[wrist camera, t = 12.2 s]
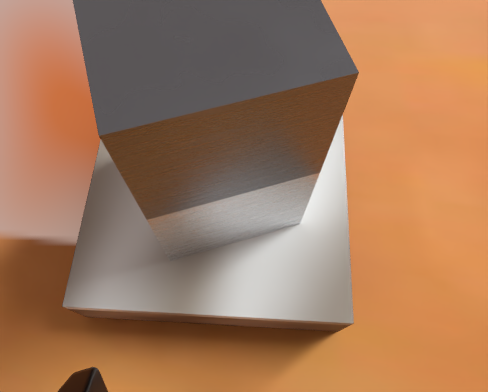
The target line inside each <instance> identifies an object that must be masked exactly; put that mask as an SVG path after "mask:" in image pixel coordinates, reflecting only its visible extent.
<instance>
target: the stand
mask: <svg viewBox="0 0 488 392" xmlns="http://www.w3.org/2000/svg"><path fill="white" fill-rule="evenodd" d="M62 307H65V308H67V309H69V310H72V311H74V312H76V313H79V314H81V315H83V316H85V317H96V318H113V319H130V320H147V321H164V322H181V323H198V324H216V325H233V326H250V327H267V328H284V329H301V330H318V331H335V332H338V331H340V330H342V329H344V328H346V327H348V326H350V325H352V324H353V323H354V322H353V302H352V283H351V264H350V245H349V226H348V206H347V187H346V168H345V149H344V129H343V115H342V117H341V120H340V123H339V125H338V128H337V130H336V133H335V135H334V138H333V141H332V143H331V146H330V148H329V151H328V154H327V156H326V159H325V161H324V164H323V166H322V169H321V172H320V174H319V177H318V179H317V182H316V185H315V187H314V190H313V192H312V195H311V197H310V200H309V203H308V205H307V208H306V210H305V213H304V216H303V218H302V221H301V223H300V224H298V225H294V226H291V227H287V228H284V229H280V230H277V231H274V232H270V233H267V234H263V235H260V236H256V237H253V238H249V239H246V240H242V241H239V242H236V243H232V244H229V245H225V246H222V247H218V248H215V249H211V250H208V251H204V252H201V253H198V254H194V255H191V256H187V257H184V258H180V259H177V260H173V261H170V260H169V258H168V257H167V255H166V253H165V251H164V250H163V248H162V246H161V244H160V243H159V241H158V239H157V237H156V236H155V234H154V232H153V230H152V229H151V227H150V225H149V223H148V221H147V220H146V218H145V216H144V214H143V213H142V211H141V209H140V207H139V206H138V204H137V202H136V200H135V199H134V197H133V195H132V193H131V192H130V190H129V188H128V186H127V184H126V183H125V181H124V179H123V177H122V176H121V174H120V172H119V170H118V169H117V167H116V165H115V163H114V162H113V160H112V158H111V156H110V155H109V153H108V151H107V149H106V147H105V146H104V144H103V142H102V140H100V145H99V149H98V153H97V158H96V162H95V167H94V171H93V175H92V179H91V184H90V189H89V193H88V197H87V201H86V205H85V210H84V214H83V218H82V223H81V227H80V232H79V236H78V240H77V244H76V249H75V253H74V257H73V262H72V266H71V270H70V275H69V279H68V283H67V288H66V292H65V296H64V301H63V305H62Z"/></svg>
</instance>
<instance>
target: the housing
mask: <svg viewBox="0 0 488 392" xmlns="http://www.w3.org/2000/svg"><path fill="white" fill-rule="evenodd" d="M73 3H74V8H75V14H76V19H77V24H78V30H79V35H80V40H81V44H82V50H83V56H84V61H85V66H86V71H87V76H88V81H89V86H90V92H91V97H92V103H93V108H94V113H95V118H96V123H97V129H98V133H99V137H100V139H101V140H102V142H103V144H104V146H105V147H106V149H107V151H108V153H109V155H110V156H111V158H112V160H113V162H114V163H115V165H116V167H117V169H118V170H119V172H120V174H121V176H122V177H123V179H124V181H125V183H126V184H127V186H128V188H129V190H130V192H131V193H132V195H133V197H134V199H135V200H136V202H137V204H138V206H139V207H140V209H141V211H142V213H143V214H144V216H145V218H146V220H147V221H148V223H149V225H150V227H151V229H152V230H153V232H154V234H155V236H156V237H157V239H158V241H159V243H160V244H161V246H162V248H163V250H164V251H165V253H166V255H167V257H168V258H169V260H170V261H173V260H177V259H180V258H184V257H187V256H191V255H194V254H198V253H201V252H204V251H208V250H211V249H215V248H218V247H222V246H225V245H229V244H232V243H236V242H239V241H242V240H246V239H249V238H253V237H256V236H260V235H263V234H267V233H270V232H274V231H277V230H280V229H284V228H287V227H291V226H294V225H298V224H300V223H301V221H302V218H303V216H304V213H305V210H306V208H307V205H308V203H309V200H310V197H311V195H312V192H313V190H314V187H315V185H316V182H317V179H318V177H319V174H320V172H321V169H322V166H323V164H324V161H325V159H326V156H327V154H328V151H329V148H330V146H331V143H332V141H333V138H334V135H335V133H336V130H337V128H338V125H339V123H340V120H341V117H342V115H343V112H344V110H345V107H346V104H347V102H348V99H349V97H350V94H351V92H352V89H353V86H354V84H355V81H356V79H357V76H358V73H359V72H358V70H357V68H356V66H355V64H354V62H353V60H352V59H351V57H350V55H349V53H348V51H347V49H346V47H345V45H344V44H343V42H342V40H341V38H340V36H339V34H338V32H337V30H336V28H335V27H334V25H333V23H332V21H331V19H330V17H329V15H328V13H327V11H326V10H325V8H324V6H323V4H322V2H321V0H73Z"/></svg>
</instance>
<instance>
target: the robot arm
mask: <svg viewBox="0 0 488 392" xmlns="http://www.w3.org/2000/svg"><path fill="white" fill-rule="evenodd" d="M58 392H108V391H107V388H106V386H105V383H104V381H103V378H102V376H101V374H100V372H99V370H98V369H97V368H95V367H91V368H88V369H85V370H81V371H78V372H75V373H73V374H72V375H71V376H70V377H69V379H68V380H67V381H66V382H65V383H64V385H63V386H62V387H61V388H60V389H59V391H58Z"/></svg>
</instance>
